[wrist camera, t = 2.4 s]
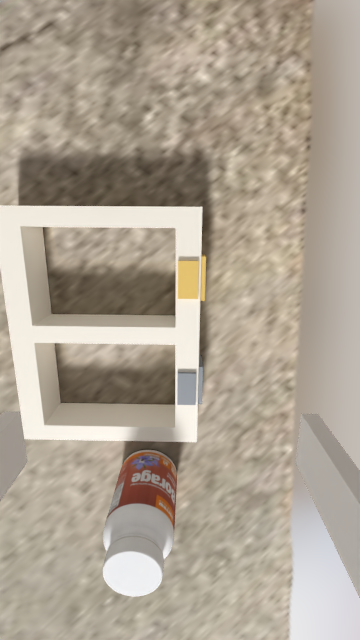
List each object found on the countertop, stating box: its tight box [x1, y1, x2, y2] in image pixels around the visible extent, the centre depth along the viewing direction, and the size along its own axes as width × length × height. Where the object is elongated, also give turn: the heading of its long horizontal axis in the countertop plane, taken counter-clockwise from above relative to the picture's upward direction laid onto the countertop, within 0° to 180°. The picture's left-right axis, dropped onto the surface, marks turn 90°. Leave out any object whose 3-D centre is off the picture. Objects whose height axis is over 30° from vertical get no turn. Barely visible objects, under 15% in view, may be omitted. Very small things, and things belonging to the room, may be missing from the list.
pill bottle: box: [103, 450, 177, 596], centre depth 30 cm, size 6×6×11 cm
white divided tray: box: [0, 206, 206, 442], centre depth 29 cm, size 16×20×4 cm
